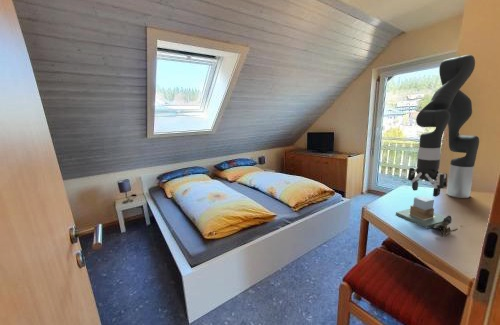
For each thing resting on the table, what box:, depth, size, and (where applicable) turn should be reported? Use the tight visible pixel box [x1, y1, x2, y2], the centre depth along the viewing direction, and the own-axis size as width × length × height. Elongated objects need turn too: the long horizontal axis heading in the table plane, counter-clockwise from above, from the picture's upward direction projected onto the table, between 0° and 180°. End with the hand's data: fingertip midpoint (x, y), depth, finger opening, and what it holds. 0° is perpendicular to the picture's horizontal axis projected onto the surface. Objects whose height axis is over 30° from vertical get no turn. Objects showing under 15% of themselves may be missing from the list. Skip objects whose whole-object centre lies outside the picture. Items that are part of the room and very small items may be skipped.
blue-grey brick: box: [412, 195, 435, 210], centre depth 96 cm, size 5×5×4 cm
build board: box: [395, 208, 447, 229], centre depth 98 cm, size 14×14×1 cm
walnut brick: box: [409, 204, 435, 220], centre depth 97 cm, size 6×6×4 cm
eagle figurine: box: [432, 215, 458, 238], centre depth 86 cm, size 8×7×9 cm
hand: (424, 192), depth 96 cm, fingers open, 8 cm apart
